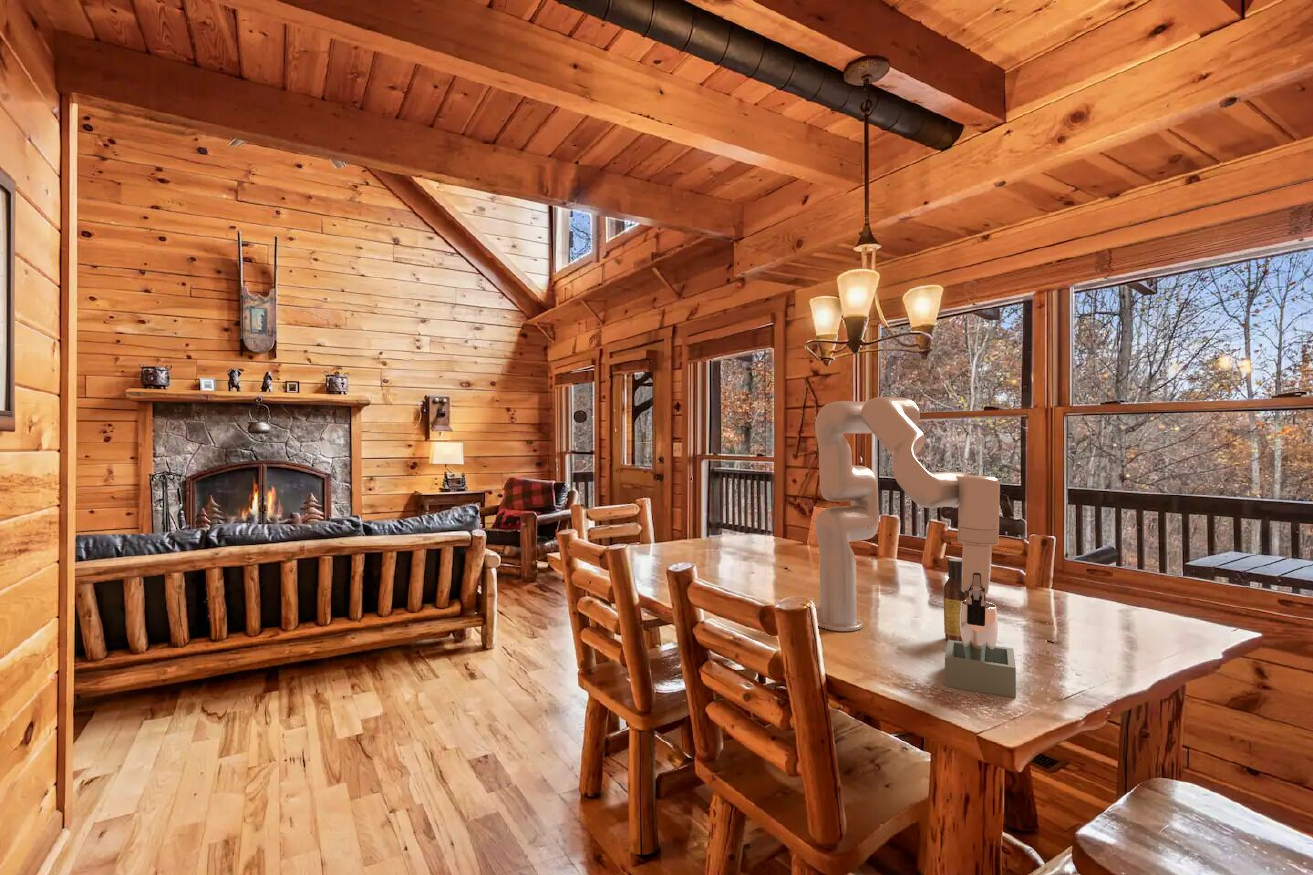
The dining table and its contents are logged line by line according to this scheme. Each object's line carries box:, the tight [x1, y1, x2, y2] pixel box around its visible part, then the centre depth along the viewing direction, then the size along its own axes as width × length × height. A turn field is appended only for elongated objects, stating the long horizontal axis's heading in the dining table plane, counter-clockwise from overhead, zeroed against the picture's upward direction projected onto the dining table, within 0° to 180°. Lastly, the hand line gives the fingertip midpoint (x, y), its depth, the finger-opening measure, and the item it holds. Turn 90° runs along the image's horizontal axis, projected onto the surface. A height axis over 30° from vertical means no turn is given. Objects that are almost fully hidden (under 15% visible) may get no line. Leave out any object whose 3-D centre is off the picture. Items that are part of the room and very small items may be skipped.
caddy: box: [944, 640, 1017, 699], centre depth 128 cm, size 12×12×6 cm
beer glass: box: [960, 600, 999, 663], centre depth 129 cm, size 7×7×15 cm
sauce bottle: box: [943, 558, 969, 642], centre depth 154 cm, size 6×6×20 cm
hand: (976, 617), depth 129 cm, fingers open, 9 cm apart
